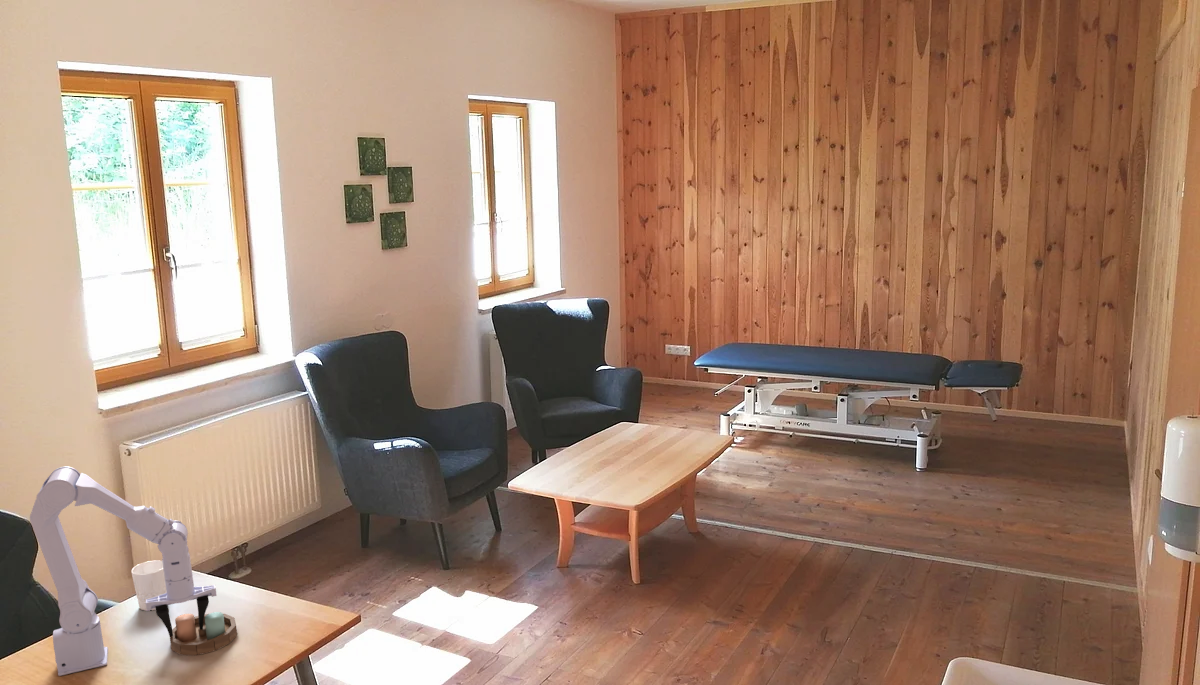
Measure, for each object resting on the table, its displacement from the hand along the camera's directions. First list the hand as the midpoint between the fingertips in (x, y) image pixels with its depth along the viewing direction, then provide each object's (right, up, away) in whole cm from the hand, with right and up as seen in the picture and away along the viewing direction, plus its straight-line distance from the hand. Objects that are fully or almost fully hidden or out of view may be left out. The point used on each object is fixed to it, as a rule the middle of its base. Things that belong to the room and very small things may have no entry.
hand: (186, 630), depth 219 cm
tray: (+3, -2, +2) cm, 5 cm away
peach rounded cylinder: (0, -2, +1) cm, 2 cm away
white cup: (-16, +1, +19) cm, 25 cm away
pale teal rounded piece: (+6, -2, +1) cm, 7 cm away
